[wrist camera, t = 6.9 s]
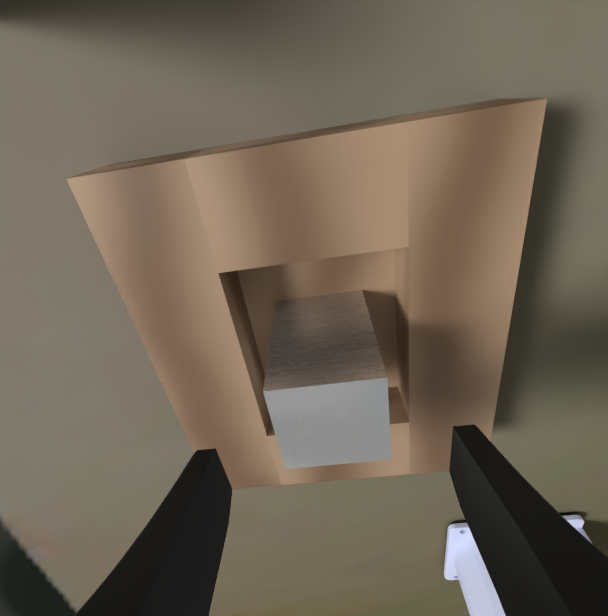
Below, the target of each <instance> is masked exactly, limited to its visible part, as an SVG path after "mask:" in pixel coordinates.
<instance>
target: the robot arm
mask: <svg viewBox="0 0 608 616" xmlns="http://www.w3.org/2000/svg"><path fill="white" fill-rule="evenodd" d="M449 471H450V475H451V478H452V481H453V485H454V488H455V491H456V494H457V497H458V501H459V504H460V507H461V509H462V512H463V514H464V517H465V519H466V522H467V523H455V524H451V525H450V526H449V527H448V534H447V544H446V555H445V566H444V575H445V578H446V579H447V580H459V582H460V585H461V588H462V591H463V595H464V598H465V601H466V604H467V607H468V610H469V614H470V616H608V557H607V556H606V555H604V554H603V553H602V552H601V551H600V550H599V549H598V548H596V547H595V546H594V545H593V544H592V542H591V540H590V539H589V537H588V536H587V534H586V533H585V531H584V530H583V528H582V527H583V524H584V520H583V519H582V517H581V516H579V515H565V516H562V515H561V514H559V513H558V512H557V511H556V510H555V509H554V508H553V507H552V506H551V505H550V504H549V503H548V502H547V501H546V500H545V499H544V498H543V497H542V496H541V495H540V494H539V493H538V492H537V491H536V490H535V489H534V488H533V487H532V486H531V485H530V484H529V483H528V482H527V481H526V480H525V479H524V478H523V477H522V476H521V474H520V473H519V472H518V471H517V470H516V469H515V468H514V467H513V466H512V465H511V464H510V463H509V462H508V461H507V459H506V458H505V457H504V456H503V455H502V454H501V453H500V452H499V451H498V450H497V448H496V447H495V446H494V445H493V444H492V443H491V442H490V440H489V439H488V438H487V437H486V436H485V435H484V434H483V432H482V431H481V430H480V429H479V428H478V427H477V426H476V425H475V424H473V425H463V426H453V432H452V444H451V457H450V469H449ZM231 496H232V487H231V484H230V482H229V479H228V477H227V475H226V472H225V470H224V467H223V465H222V462H221V460H220V458H219V455H218V453H217V450H216V448H215V449H204V450H197V451H196V452H195V453H194V455H193V456H192V458H191V459H190V461H189V462H188V464H187V465H186V467H185V469H184V470H183V472H182V473H181V475H180V476H179V478H178V479H177V481H176V482H175V484H174V486H173V487H172V489H171V490H170V492H169V493H168V495H167V496H166V498H165V499H164V501H163V502H162V503H161V505H160V506H159V508H158V509H157V511H156V512H155V514H154V515H153V517H152V518H151V519H150V521H149V522H148V524H147V525H146V527H145V528H144V529H143V531H142V532H141V533H140V535H139V536H138V537H137V539H136V540H135V541H134V543H133V544H132V546H131V547H130V548H129V550H128V551H127V552H126V554H125V555H124V556H123V558H122V559H121V560H120V562H119V563H118V564H117V565H116V567H115V568H114V569H113V570H112V572H111V573H110V574H109V575H108V577H107V578H106V579H105V580H104V582H103V583H102V584H101V585H100V586H99V588H98V589H97V590H96V591H95V592H94V594H93V595H92V596H91V597H90V598H89V600H88V601H87V602H86V603H85V604H84V605H83V606H82V608H81V609H80V610H79V611H78V612H77V613H76V614H75V615H74V616H209V610H210V606H211V601H212V597H213V592H214V588H215V583H216V579H217V574H218V570H219V565H220V561H221V556H222V552H223V547H224V542H225V538H226V533H227V528H228V523H229V515H230V506H231Z"/></svg>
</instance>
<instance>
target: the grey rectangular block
mask: <svg viewBox="0 0 608 616" xmlns="http://www.w3.org/2000/svg"><path fill="white" fill-rule="evenodd" d="M263 394H264V397H265V401H266V404H267V408H268V411H269V414H270V418H271V421H272V425H273V428H274V432H275V435H276V439H277V442H278V446H279V449H280V453H281V456H282V460H283V463H284V467H285V469H292V468H303V467H314V466H325V465H336V464H347V463H358V462H369V461H380V460H391V439H390V419H389V399H388V379H387V374H386V371H385V367H384V364H383V361H382V357H381V354H380V350H379V347H378V343H377V340H376V336H375V333H374V329H373V326H372V322H371V319H370V315H369V312H368V308H367V305H366V301H365V298H364V295H363V291H362V290H358V291H350V292H343V293H335V294H328V295H320V296H313V297H305V298H298V299H290V300H282V301H277V304H276V310H275V317H274V323H273V330H272V336H271V342H270V349H269V355H268V362H267V368H266V375H265V381H264V388H263Z"/></svg>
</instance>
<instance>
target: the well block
mask: <svg viewBox="0 0 608 616" xmlns="http://www.w3.org/2000/svg"><path fill="white" fill-rule="evenodd" d="M546 103H547V98H541V99H496V100H490V101H484V102H479V103H473V104H467V105H461V106H455V107H449V108H443V109H437V110H431V111H425V112H419V113H413V114H407V115H402V116H396V117H390V118H384V119H378V120H372V121H366V122H360V123H354V124H348V125H342V126H336V127H330V128H324V129H319V130H313V131H307V132H301V133H295V134H289V135H283V136H277V137H271V138H265V139H259V140H253V141H247V142H242V143H236V144H230V145H224V146H218V147H212V148H206V149H200V150H194V151H188V152H182V153H176V154H170V155H165V156H159V157H153V158H147V159H141V160H135V161H129V162H123V163H117V164H111V165H108V166H105V167H102V168H98V169H95V170H92V171H89V172H86V173H83V174H80V175H77V176H73V177H70V178H67V181H68V183H69V185H70V188H71V190H72V192H73V194H74V196H75V198H76V200H77V203H78V205H79V207H80V209H81V211H82V213H83V215H84V218H85V220H86V222H87V224H88V226H89V228H90V230H91V233H92V235H93V237H94V239H95V241H96V243H97V245H98V248H99V250H100V252H101V254H102V256H103V258H104V260H105V263H106V265H107V267H108V269H109V271H110V273H111V275H112V278H113V280H114V282H115V284H116V286H117V288H118V290H119V293H120V295H121V297H122V299H123V301H124V303H125V305H126V308H127V310H128V312H129V314H130V316H131V318H132V320H133V323H134V325H135V327H136V329H137V331H138V333H139V335H140V338H141V340H142V342H143V344H144V346H145V348H146V351H147V353H148V355H149V357H150V359H151V361H152V363H153V366H154V368H155V370H156V372H157V374H158V376H159V378H160V381H161V383H162V385H163V387H164V389H165V391H166V393H167V396H168V398H169V400H170V402H171V404H172V406H173V408H174V411H175V413H176V415H177V417H178V419H179V421H180V423H181V426H182V428H183V430H184V432H185V434H186V436H187V438H188V441H189V443H190V445H191V447H192V449H193V451H194V453H195V452H196V451H197V450H204V449H215V448H216V450H217V453H218V455H219V458H220V460H221V462H222V465H223V467H224V470H225V472H226V475H227V477H228V479H229V482H230V484H231V487H232V489H239V488H251V487H263V486H274V485H286V484H298V483H310V482H322V481H333V480H345V479H357V478H369V477H381V476H392V475H404V474H416V473H428V472H440V471H449V469H450V457H451V444H452V432H453V426H463V425H473V424H475V425H476V426H477V427H478V428H479V429H480V430H481V431H482V432H483V434H484V435H485V436H486V437H487V438H488V439H489V440H490V441H491V435H492V429H493V423H494V417H495V411H496V405H497V399H498V393H499V387H500V381H501V375H502V369H503V363H504V357H505V351H506V345H507V339H508V333H509V326H510V320H511V314H512V308H513V302H514V296H515V290H516V284H517V278H518V272H519V266H520V260H521V254H522V248H523V242H524V236H525V230H526V224H527V218H528V212H529V206H530V200H531V194H532V188H533V182H534V176H535V170H536V163H537V157H538V151H539V145H540V139H541V133H542V127H543V121H544V115H545V109H546ZM358 290H362V291H363V295H364V298H365V301H366V305H367V308H368V312H369V315H370V319H371V322H372V326H373V329H374V333H375V336H376V340H377V343H378V347H379V350H380V354H381V357H382V361H383V364H384V367H385V371H386V374H387V379H388V399H389V419H390V439H391V460H380V461H369V462H358V463H347V464H336V465H325V466H314V467H303V468H292V469H285V467H284V463H283V460H282V456H281V453H280V449H279V446H278V442H277V439H276V435H275V432H274V428H273V425H272V421H271V418H270V414H269V411H268V408H267V404H266V401H265V397H264V394H263V388H264V381H265V375H266V368H267V362H268V355H269V349H270V342H271V336H272V330H273V323H274V317H275V310H276V304H277V301H282V300H290V299H298V298H305V297H313V296H320V295H328V294H335V293H343V292H350V291H358Z"/></svg>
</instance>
